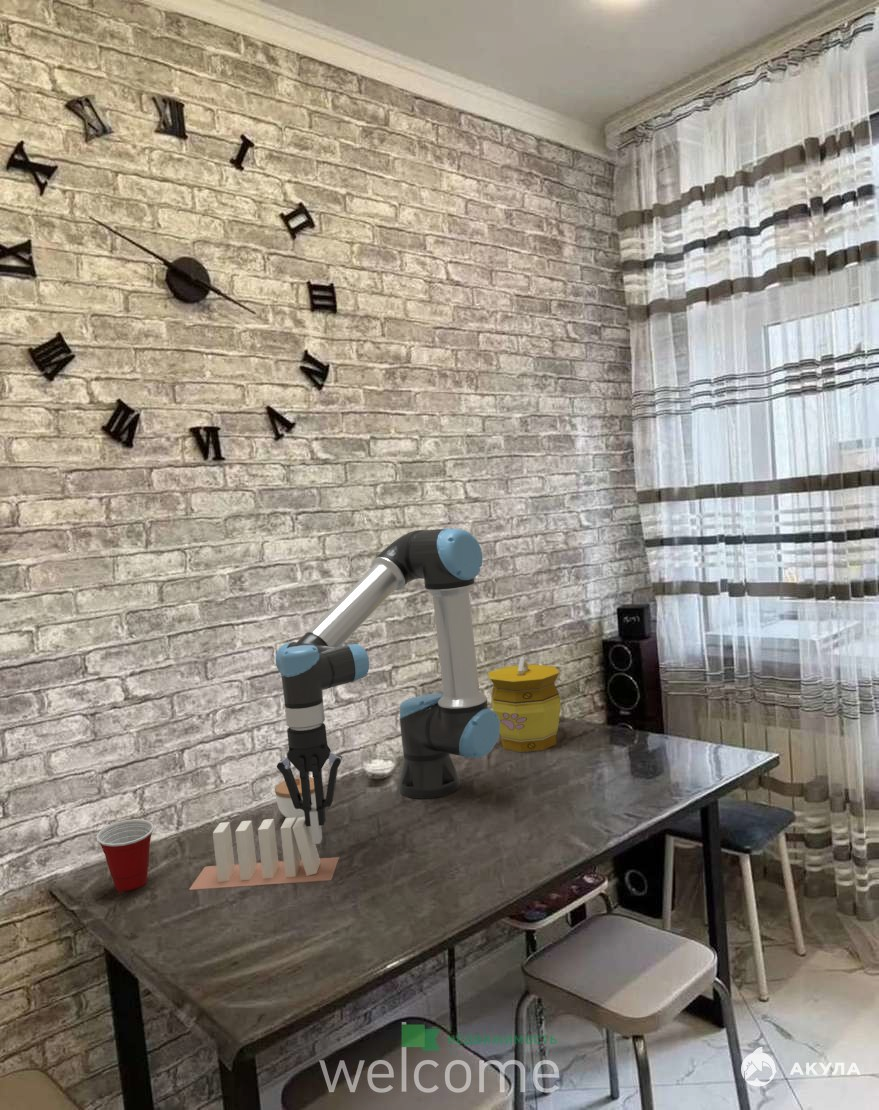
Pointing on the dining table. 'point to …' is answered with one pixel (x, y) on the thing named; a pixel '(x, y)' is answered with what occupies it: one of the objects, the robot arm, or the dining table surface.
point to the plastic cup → (127, 852)
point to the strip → (210, 878)
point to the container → (526, 706)
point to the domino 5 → (306, 846)
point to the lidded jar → (286, 801)
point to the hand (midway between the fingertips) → (317, 840)
